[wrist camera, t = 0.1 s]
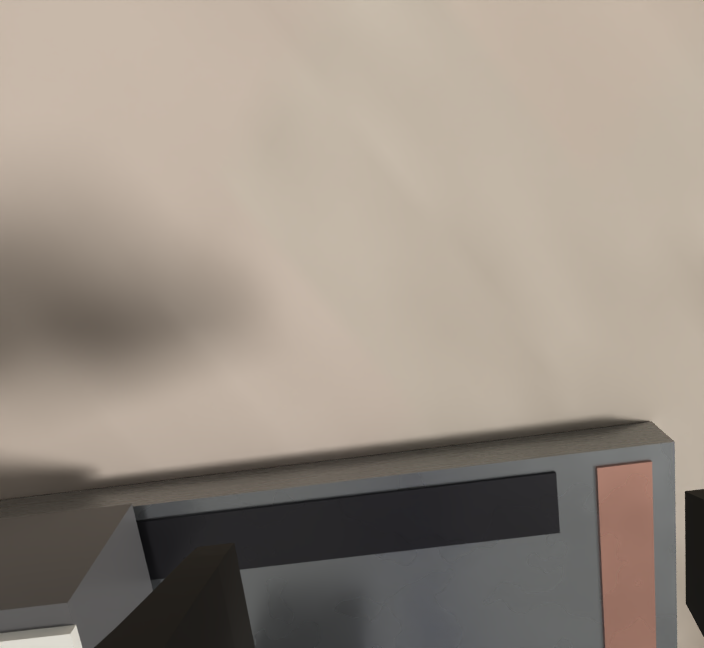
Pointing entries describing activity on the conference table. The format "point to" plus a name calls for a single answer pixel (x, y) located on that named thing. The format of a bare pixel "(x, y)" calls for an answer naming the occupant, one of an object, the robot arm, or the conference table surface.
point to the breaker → (69, 576)
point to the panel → (433, 542)
